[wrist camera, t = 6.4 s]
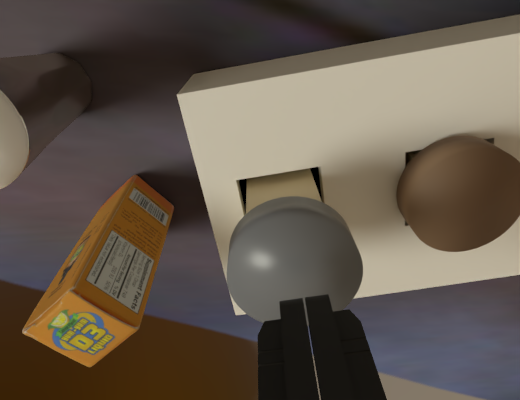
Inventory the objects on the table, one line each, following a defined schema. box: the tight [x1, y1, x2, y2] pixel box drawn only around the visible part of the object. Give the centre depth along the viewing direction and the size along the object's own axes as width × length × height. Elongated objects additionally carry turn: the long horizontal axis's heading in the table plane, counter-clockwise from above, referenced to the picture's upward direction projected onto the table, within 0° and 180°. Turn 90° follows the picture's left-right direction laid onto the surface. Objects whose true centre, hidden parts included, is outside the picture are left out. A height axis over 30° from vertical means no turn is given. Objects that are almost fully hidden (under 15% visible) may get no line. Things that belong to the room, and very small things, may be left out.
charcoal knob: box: [227, 168, 363, 326], centre depth 16 cm, size 5×5×6 cm
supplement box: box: [23, 175, 174, 367], centre depth 19 cm, size 3×3×10 cm
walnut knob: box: [396, 135, 520, 252], centre depth 18 cm, size 5×5×6 cm
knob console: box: [177, 14, 520, 315], centre depth 20 cm, size 22×12×5 cm, turn 100°
